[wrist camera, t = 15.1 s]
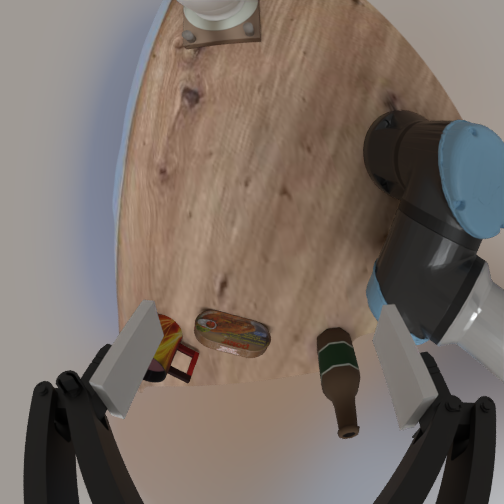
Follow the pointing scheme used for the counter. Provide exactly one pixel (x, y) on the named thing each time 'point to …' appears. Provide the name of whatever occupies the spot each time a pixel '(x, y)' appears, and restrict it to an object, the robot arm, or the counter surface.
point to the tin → (231, 334)
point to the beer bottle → (339, 377)
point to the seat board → (222, 28)
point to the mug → (169, 354)
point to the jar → (214, 8)
